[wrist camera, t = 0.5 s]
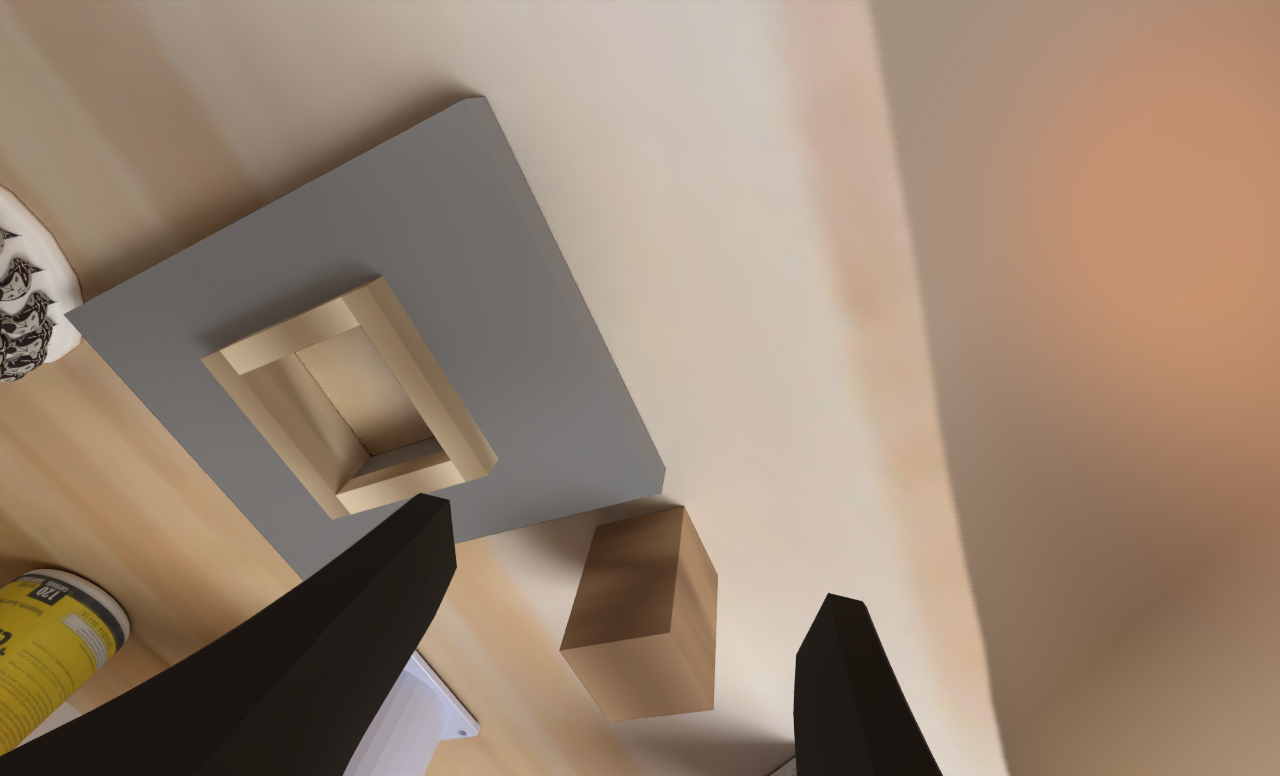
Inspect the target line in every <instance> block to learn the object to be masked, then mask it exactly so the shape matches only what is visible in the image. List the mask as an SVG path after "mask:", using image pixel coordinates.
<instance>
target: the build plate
mask: <svg viewBox="0 0 1280 776" xmlns="http://www.w3.org/2000/svg"><path fill="white" fill-rule="evenodd" d="M63 315H64V316H65V317H66V318H67V319H68V320H69V322H70V323H71V324H72V325H73V326H74V327H75V328H76V329H77V330H78V332H79V333H80V334H81V335H82V336H83V337H84V338H85V339H86V340H87V341H88V343H89V344H90V345H91V346H92V347H93V348H94V349H95V350H96V351H97V353H98V354H99V355H100V356H101V357H102V358H103V359H104V360H105V361H106V363H107V364H108V365H109V366H110V367H111V368H112V369H113V370H114V371H115V373H116V374H117V375H118V376H119V377H120V378H121V379H122V380H123V381H124V383H125V384H126V385H127V386H128V387H129V388H130V389H131V390H132V391H133V392H134V394H135V395H136V396H137V397H138V398H139V399H140V400H141V401H142V402H143V404H144V405H145V406H146V407H147V408H148V409H149V410H150V411H151V412H152V414H153V415H154V416H155V417H156V418H157V419H158V420H159V421H160V422H161V424H162V425H163V426H164V427H165V428H166V429H167V430H168V431H169V432H170V433H171V435H172V436H173V437H174V438H175V439H176V440H177V441H178V442H179V443H180V445H181V446H182V447H183V448H184V449H185V450H186V451H187V452H188V453H189V455H190V456H191V457H192V458H193V459H194V460H195V461H196V462H197V463H198V465H199V466H200V467H201V468H202V469H203V470H204V471H205V472H206V473H207V474H208V476H209V477H210V478H211V479H212V480H213V481H214V482H215V483H216V484H217V486H218V487H219V488H220V489H221V490H222V491H223V492H224V493H225V494H226V496H227V497H228V498H229V499H230V500H231V501H232V502H233V503H234V504H235V506H236V507H237V508H238V509H239V510H240V511H241V512H242V513H243V514H244V515H245V517H246V518H247V519H248V520H249V521H250V522H251V523H252V524H253V525H254V527H255V528H256V529H257V530H258V531H259V532H260V533H261V534H262V535H263V537H264V538H265V539H266V540H267V541H268V542H269V543H270V544H271V545H272V547H273V548H274V549H275V550H276V551H277V552H278V553H279V554H280V555H281V556H282V558H283V559H284V560H285V561H286V562H287V563H288V564H289V565H290V566H291V568H292V569H293V570H294V571H295V572H296V573H297V574H298V575H299V576H300V578H301V579H302V580H303V581H305V580H306V579H308V578H309V577H310V576H312V575H313V574H314V573H316V572H317V571H318V570H320V569H321V568H323V567H324V566H325V565H327V564H328V563H329V562H331V561H332V560H333V559H335V558H336V557H337V556H339V555H340V554H341V553H343V552H344V551H345V550H347V549H348V548H349V547H351V546H352V545H353V544H354V543H356V542H357V541H358V540H360V539H361V538H362V537H363V536H365V535H366V534H367V533H369V532H370V531H371V530H372V529H374V528H375V527H376V526H377V525H379V524H380V523H381V522H383V521H384V520H385V519H386V518H388V517H389V516H390V515H391V514H393V513H394V512H395V511H396V510H398V509H399V508H400V507H401V506H403V505H404V504H405V503H406V502H408V501H409V500H410V499H411V498H413V497H414V496H415V495H417V494H419V493H424V494H428V495H432V496H436V497H440V498H444V499H448V500H450V506H451V515H452V525H453V535H454V544H456V543H460V542H464V541H468V540H473V539H477V538H481V537H485V536H489V535H493V534H497V533H501V532H505V531H509V530H513V529H518V528H522V527H526V526H530V525H534V524H538V523H542V522H546V521H550V520H554V519H558V518H563V517H567V516H571V515H575V514H579V513H583V512H587V511H591V510H595V509H599V508H603V507H608V506H612V505H616V504H620V503H624V502H628V501H632V500H636V499H640V498H644V497H648V496H653V495H657V494H661V493H662V487H663V481H664V475H665V470H666V468H665V466H664V464H663V462H662V460H661V458H660V456H659V454H658V452H657V450H656V447H655V445H654V443H653V441H652V439H651V437H650V435H649V433H648V431H647V429H646V427H645V425H644V423H643V421H642V419H641V416H640V414H639V412H638V410H637V408H636V406H635V404H634V402H633V400H632V398H631V396H630V394H629V392H628V390H627V388H626V385H625V383H624V381H623V379H622V377H621V375H620V373H619V371H618V369H617V367H616V365H615V363H614V361H613V359H612V357H611V354H610V352H609V350H608V348H607V346H606V344H605V342H604V340H603V338H602V336H601V334H600V332H599V330H598V328H597V326H596V323H595V321H594V319H593V317H592V315H591V313H590V311H589V309H588V307H587V305H586V303H585V301H584V299H583V297H582V295H581V292H580V290H579V288H578V286H577V284H576V282H575V280H574V278H573V276H572V274H571V272H570V270H569V268H568V266H567V264H566V261H565V259H564V257H563V255H562V253H561V251H560V249H559V247H558V245H557V243H556V241H555V239H554V237H553V235H552V233H551V230H550V228H549V226H548V224H547V222H546V220H545V218H544V216H543V214H542V212H541V210H540V208H539V206H538V204H537V202H536V199H535V197H534V195H533V193H532V191H531V189H530V187H529V185H528V183H527V181H526V179H525V177H524V175H523V173H522V170H521V168H520V166H519V164H518V162H517V160H516V158H515V156H514V154H513V152H512V150H511V148H510V146H509V144H508V142H507V139H506V137H505V135H504V133H503V131H502V129H501V127H500V125H499V123H498V121H497V119H496V117H495V115H494V113H493V111H492V108H491V106H490V104H489V102H488V100H487V98H486V97H477V98H468V99H464V100H462V101H460V102H458V103H456V104H454V105H452V106H451V107H449V108H447V109H445V110H443V111H441V112H439V113H437V114H436V115H434V116H432V117H430V118H428V119H426V120H424V121H423V122H421V123H419V124H417V125H415V126H413V127H411V128H410V129H408V130H406V131H404V132H402V133H400V134H398V135H397V136H395V137H393V138H391V139H389V140H387V141H385V142H383V143H382V144H380V145H378V146H376V147H374V148H372V149H370V150H369V151H367V152H365V153H363V154H361V155H359V156H357V157H356V158H354V159H352V160H350V161H348V162H346V163H344V164H343V165H341V166H339V167H337V168H335V169H333V170H331V171H329V172H328V173H326V174H324V175H322V176H320V177H318V178H316V179H315V180H313V181H311V182H309V183H307V184H305V185H303V186H302V187H300V188H298V189H296V190H294V191H292V192H290V193H288V194H287V195H285V196H283V197H281V198H279V199H277V200H275V201H274V202H272V203H270V204H268V205H266V206H264V207H262V208H261V209H259V210H257V211H255V212H253V213H251V214H249V215H248V216H246V217H244V218H242V219H240V220H238V221H236V222H234V223H233V224H231V225H229V226H227V227H225V228H223V229H221V230H220V231H218V232H216V233H214V234H212V235H210V236H208V237H207V238H205V239H203V240H201V241H199V242H197V243H195V244H194V245H192V246H190V247H188V248H186V249H184V250H182V251H180V252H179V253H177V254H175V255H173V256H171V257H169V258H167V259H166V260H164V261H162V262H160V263H158V264H156V265H154V266H153V267H151V268H149V269H147V270H145V271H143V272H141V273H140V274H138V275H136V276H134V277H132V278H130V279H128V280H126V281H125V282H123V283H121V284H119V285H117V286H115V287H113V288H112V289H110V290H108V291H106V292H104V293H102V294H100V295H99V296H97V297H95V298H93V299H91V300H89V301H87V302H85V303H84V304H82V305H80V306H78V307H76V308H74V309H72V310H71V311H69V312H67V313H65V314H63ZM359 325H360V326H361V327H362V329H363V330H364V332H365V333H366V335H367V336H368V338H369V339H370V341H371V342H372V344H373V345H374V347H375V348H376V350H377V351H378V353H379V354H380V356H381V357H382V359H383V360H384V362H385V363H386V365H387V366H388V368H389V369H390V371H391V372H392V374H393V375H394V377H395V378H396V379H397V381H398V382H399V384H400V385H401V387H402V388H403V390H404V391H405V393H406V394H407V396H408V397H409V399H410V400H411V402H412V403H413V405H414V406H415V408H416V409H417V411H418V412H419V414H420V415H421V417H422V418H423V420H424V421H425V423H426V424H427V426H428V427H429V429H430V430H431V432H432V433H433V434H434V436H435V437H432V438H429V439H426V440H423V441H420V442H417V443H414V444H411V445H407V446H404V447H401V448H398V449H395V450H392V451H389V452H386V453H382V454H379V455H376V456H373V457H371V456H370V455H369V453H368V452H367V451H366V449H365V448H364V447H363V445H362V444H361V443H360V441H359V440H358V439H357V437H356V436H355V434H354V433H353V432H352V430H351V429H350V428H349V426H348V425H347V424H346V422H345V421H344V420H343V418H342V417H341V416H340V414H339V413H338V412H337V410H336V409H335V408H334V406H333V405H332V403H331V402H330V401H329V399H328V398H327V397H326V395H325V394H324V393H323V391H322V390H321V389H320V387H319V386H318V385H317V383H316V382H315V381H314V379H313V378H312V377H311V375H310V374H309V372H308V371H307V370H306V368H305V367H304V366H303V364H302V363H301V362H300V360H299V359H298V358H297V356H296V355H295V354H294V352H297V351H299V350H302V349H304V348H306V347H309V346H311V345H314V344H316V343H318V342H321V341H323V340H326V339H328V338H330V337H333V336H335V335H338V334H340V333H342V332H345V331H347V330H350V329H352V328H354V327H357V326H359Z"/></svg>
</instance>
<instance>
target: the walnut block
mask: <svg viewBox="0 0 1280 776" xmlns="http://www.w3.org/2000/svg"><path fill="white" fill-rule="evenodd" d="M717 586H718V575H717V573H716V571H715V568H714V566H713V564H712V562H711V560H710V558H709V556H708V554H707V552H706V550H705V548H704V546H703V544H702V542H701V540H700V537H699V535H698V533H697V531H696V529H695V527H694V525H693V523H692V521H691V519H690V517H689V515H688V513H687V511H686V508H685V506H683V507H678V508H674V509H670V510H666V511H661V512H657V513H653V514H648V515H644V516H640V517H636V518H631V519H627V520H623V521H619V522H614V523H610V524H606V525H601V526H597V527H596V530H595V533H594V537H593V540H592V543H591V547H590V550H589V553H588V557H587V560H586V563H585V567H584V570H583V573H582V577H581V580H580V584H579V587H578V590H577V594H576V597H575V600H574V604H573V607H572V610H571V614H570V617H569V620H568V624H567V627H566V630H565V634H564V637H563V640H562V644H561V647H560V650H559V651H560V652H561V654H562V655H563V657H564V658H565V660H566V661H567V662H568V664H569V665H570V667H571V668H572V670H573V671H574V672H575V674H576V675H577V677H578V678H579V680H580V681H581V683H582V684H583V685H584V687H585V688H586V690H587V691H588V693H589V694H590V696H591V697H592V698H593V700H594V701H595V703H596V704H597V706H598V707H599V708H600V710H601V711H602V713H603V714H604V716H605V717H606V719H607V720H608V721H609V722H613V721H621V720H630V719H639V718H647V717H656V716H665V715H674V714H682V713H691V712H700V711H708V710H714V681H715V649H716V618H717Z"/></svg>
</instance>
